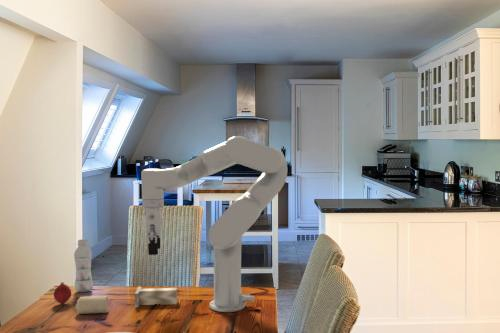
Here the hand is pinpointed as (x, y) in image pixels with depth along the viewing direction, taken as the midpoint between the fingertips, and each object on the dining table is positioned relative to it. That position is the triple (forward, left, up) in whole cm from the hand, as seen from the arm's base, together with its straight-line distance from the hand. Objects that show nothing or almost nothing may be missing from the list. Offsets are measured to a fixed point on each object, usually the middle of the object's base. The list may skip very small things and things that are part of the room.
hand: (154, 251), depth 172 cm
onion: (+32, -2, -19) cm, 38 cm away
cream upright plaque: (0, 0, -19) cm, 19 cm away
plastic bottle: (+28, -16, -19) cm, 38 cm away
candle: (+15, +8, -16) cm, 23 cm away
